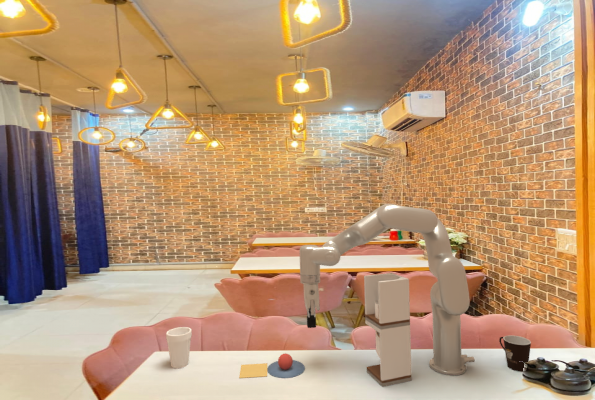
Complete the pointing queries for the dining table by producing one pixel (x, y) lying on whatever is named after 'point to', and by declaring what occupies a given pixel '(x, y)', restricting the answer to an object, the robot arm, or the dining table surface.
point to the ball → (285, 361)
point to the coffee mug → (516, 351)
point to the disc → (293, 371)
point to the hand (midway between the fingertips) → (311, 326)
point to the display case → (389, 326)
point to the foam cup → (179, 346)
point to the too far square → (253, 370)
